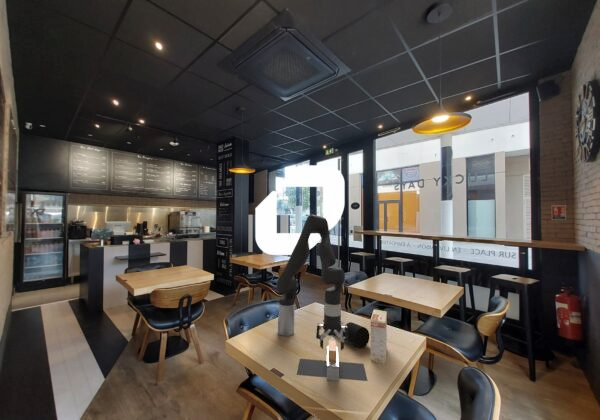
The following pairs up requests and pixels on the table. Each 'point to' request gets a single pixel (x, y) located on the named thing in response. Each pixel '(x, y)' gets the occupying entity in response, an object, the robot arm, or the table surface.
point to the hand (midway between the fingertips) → (331, 348)
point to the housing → (332, 367)
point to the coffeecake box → (379, 336)
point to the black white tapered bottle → (356, 334)
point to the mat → (320, 369)
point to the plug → (332, 349)
